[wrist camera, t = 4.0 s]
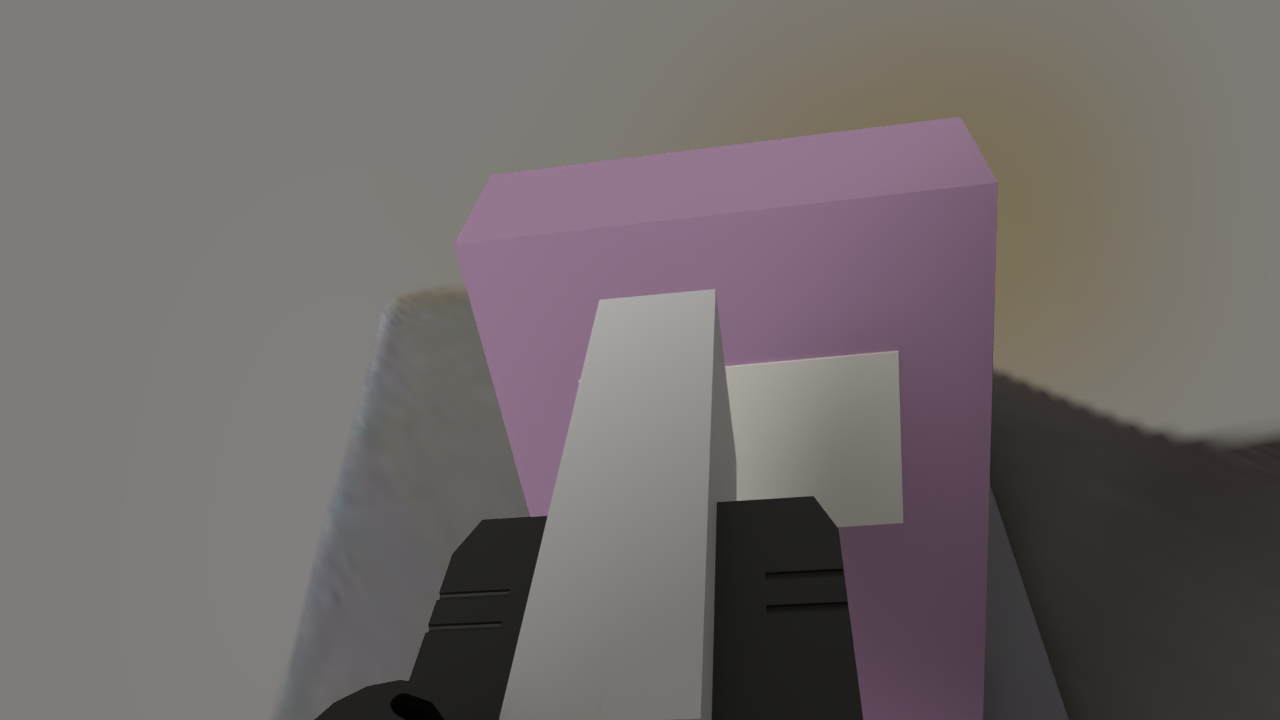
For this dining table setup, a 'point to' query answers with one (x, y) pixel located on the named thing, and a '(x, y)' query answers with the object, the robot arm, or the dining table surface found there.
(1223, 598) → the dining table surface
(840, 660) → the robot arm
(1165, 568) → the dining table surface
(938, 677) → the box
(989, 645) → the mat
